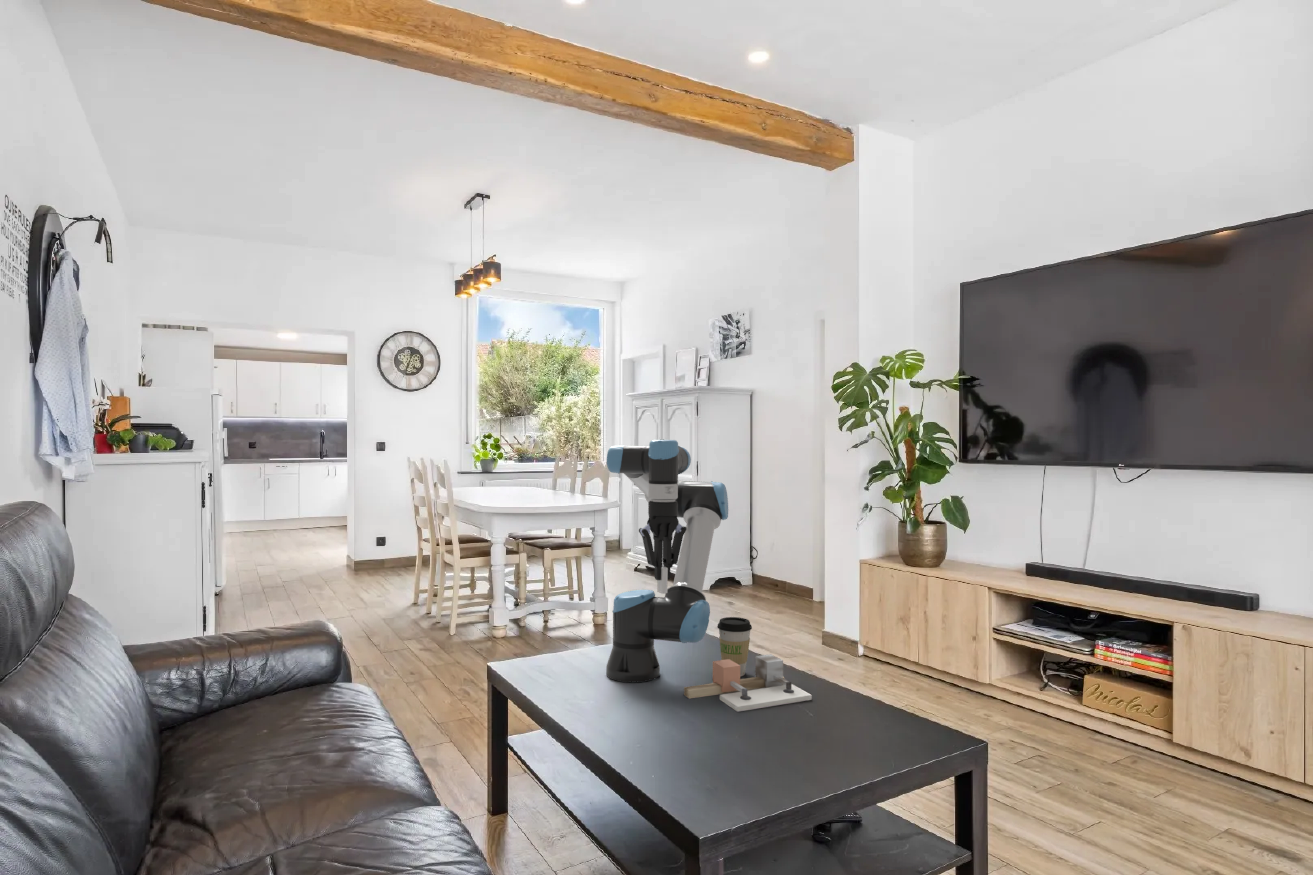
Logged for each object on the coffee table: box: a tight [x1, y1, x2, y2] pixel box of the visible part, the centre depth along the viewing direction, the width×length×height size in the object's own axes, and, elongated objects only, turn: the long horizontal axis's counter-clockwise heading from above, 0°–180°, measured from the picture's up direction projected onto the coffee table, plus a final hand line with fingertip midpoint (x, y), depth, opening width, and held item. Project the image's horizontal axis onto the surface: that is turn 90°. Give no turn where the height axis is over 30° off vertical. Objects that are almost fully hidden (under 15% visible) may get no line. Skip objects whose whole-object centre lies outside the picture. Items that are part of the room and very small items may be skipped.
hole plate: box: [719, 684, 813, 712], centre depth 192 cm, size 9×22×1 cm, turn 114°
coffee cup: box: [716, 616, 753, 677], centre depth 213 cm, size 10×10×15 cm
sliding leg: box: [712, 659, 748, 696], centre depth 195 cm, size 13×5×6 cm, turn 24°
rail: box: [683, 653, 792, 700], centre depth 196 cm, size 13×29×7 cm, turn 114°
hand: (662, 592), depth 191 cm, fingers closed
